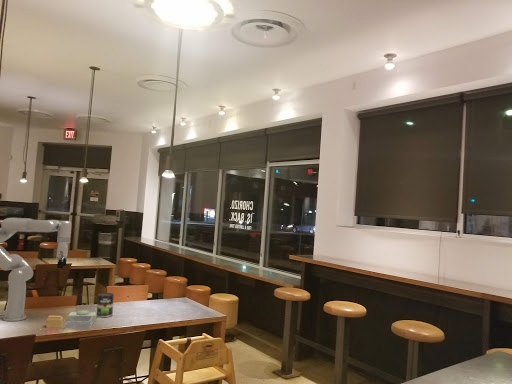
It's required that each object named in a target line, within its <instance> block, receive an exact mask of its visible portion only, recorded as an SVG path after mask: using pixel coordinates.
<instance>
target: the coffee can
mask: <svg viewBox="0 0 512 384" xmlns="http://www.w3.org/2000/svg"><path fill="white" fill-rule="evenodd" d="M114 294H115V293H113V292H112V293H111V292H102V293H98V294H97V303H96V304H97V307H96V309H97V310H96V312H97V317H98V318H109V317H112V316H113V315H114V314H113V313H114V312H113V310H114Z"/></svg>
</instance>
